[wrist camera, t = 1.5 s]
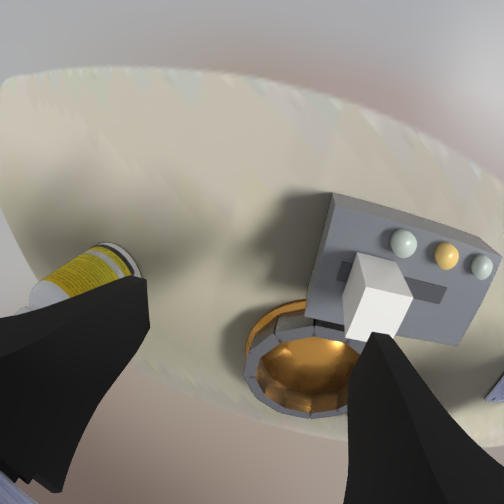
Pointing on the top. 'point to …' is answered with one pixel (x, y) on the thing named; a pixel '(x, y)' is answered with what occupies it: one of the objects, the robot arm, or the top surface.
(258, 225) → the top surface
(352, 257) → the switch box
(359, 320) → the handle
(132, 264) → the supplement bottle
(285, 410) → the ring
